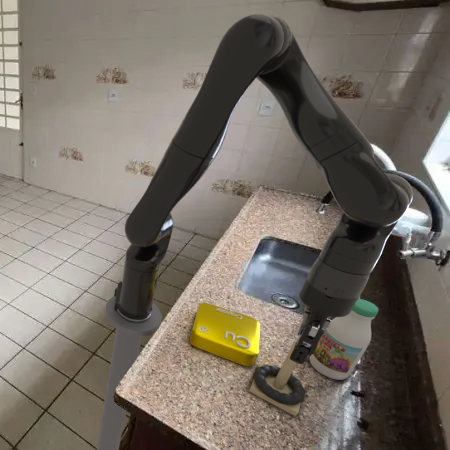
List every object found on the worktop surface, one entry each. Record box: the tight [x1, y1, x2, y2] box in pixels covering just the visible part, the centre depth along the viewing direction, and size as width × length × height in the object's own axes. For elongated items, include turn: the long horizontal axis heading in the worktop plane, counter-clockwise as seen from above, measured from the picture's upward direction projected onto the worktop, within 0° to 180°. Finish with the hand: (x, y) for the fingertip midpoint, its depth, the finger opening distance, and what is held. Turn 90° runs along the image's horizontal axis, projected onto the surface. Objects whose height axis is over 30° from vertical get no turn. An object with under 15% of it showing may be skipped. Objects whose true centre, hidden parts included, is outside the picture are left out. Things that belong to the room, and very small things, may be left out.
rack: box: [248, 341, 306, 417], centre depth 77 cm, size 9×9×14 cm
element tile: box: [189, 302, 261, 367], centre depth 93 cm, size 15×15×5 cm
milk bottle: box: [309, 298, 379, 381], centre depth 81 cm, size 8×8×20 cm
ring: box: [252, 364, 306, 405], centre depth 79 cm, size 10×10×2 cm
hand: (299, 348), depth 70 cm, fingers open, 8 cm apart
